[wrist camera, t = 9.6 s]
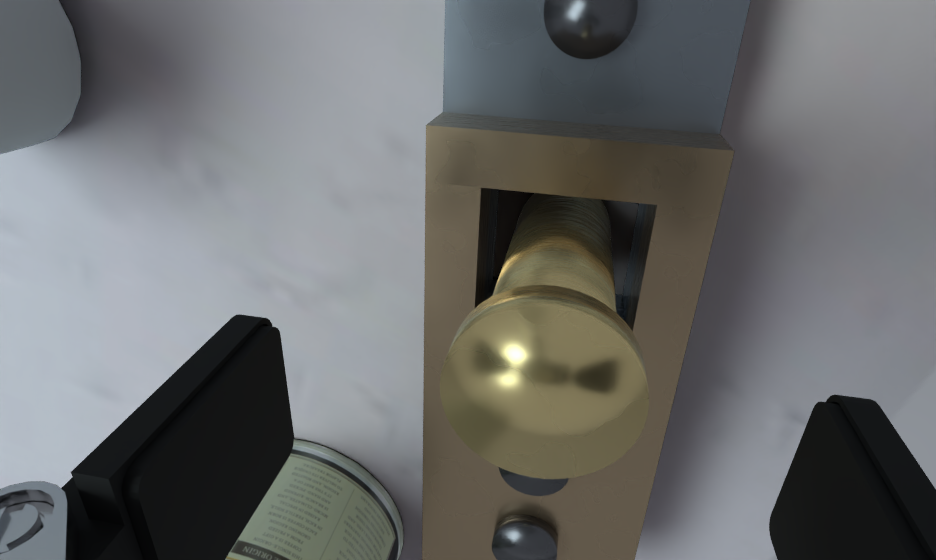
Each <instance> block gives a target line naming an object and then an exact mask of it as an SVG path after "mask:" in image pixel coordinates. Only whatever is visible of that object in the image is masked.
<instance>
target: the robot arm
mask: <svg viewBox="0 0 936 560" xmlns="http://www.w3.org/2000/svg"><path fill="white" fill-rule="evenodd" d="M293 443H294V433H293V426H292V419H291V411H290V404H289V396H288V389H287V381H286V374H285V366H284V359H283V351H282V344H281V337H280V332H279V330H278V328H276V327H272V323H271V322H270V320H269V319H267V318H261V317H254V316H246V315H235V316H234V317H232V318H231V319H230V320H229V321H228V322H227V323H226V324H225V325H224V326H223V327H222V328H221V329H220V330H219V331H218V332H217V333H216V334H215V335H214V336H213V337H212V338H210V339H209V340H208V341H207V342H206V343H205V344H204V345H203V346H202V347H201V348H200V349H199V350H198V351H197V352H196V353H195V354H194V355H193V356H192V357H191V358H190V359H189V360H188V361H186V362H185V363H184V364H183V365H182V366H181V367H180V368H179V369H178V370H177V371H176V372H175V373H174V374H173V375H172V376H171V377H170V378H169V379H168V380H167V381H166V382H165V383H164V384H162V385H161V386H160V387H159V388H158V389H157V390H156V391H155V392H154V393H153V394H152V395H151V396H150V397H149V398H148V399H147V400H146V401H145V402H144V403H143V404H142V405H141V406H140V407H138V408H137V409H136V410H135V411H134V412H133V413H132V414H131V415H130V416H129V417H128V418H127V419H126V420H125V421H124V422H123V423H122V424H121V425H120V426H119V427H118V428H117V429H116V430H114V431H113V432H112V433H111V434H110V435H109V436H108V437H107V438H106V439H105V440H104V441H103V442H102V443H101V444H100V445H99V446H98V447H97V448H96V449H95V450H94V451H93V452H92V453H90V454H89V455H88V456H87V457H86V458H85V459H84V460H83V461H82V462H81V463H80V464H79V465H78V466H77V467H76V468H75V469H74V470H73V471H72V472H71V474H72V476H73V477H72V478H71V479H70V480H69V481H68V482H67V483H66V484H65V485H64V486H63V487H62V488H60V487H59V486H57V485H55V484H52V483H48V482H45V481H31V482H24V483H19V484H14V485H10V486H7V487H4V488H2V489H0V560H225V559H226V557H227V556H228V554H229V552H230V551H231V549H232V548H233V546H234V544H235V543H236V541H237V540H238V538H239V536H240V535H241V533H242V532H243V530H244V528H245V527H246V525H247V524H248V522H249V520H250V519H251V517H252V516H253V514H254V512H255V511H256V509H257V508H258V506H259V504H260V503H261V501H262V500H263V498H264V496H265V495H266V493H267V492H268V490H269V488H270V487H271V485H272V484H273V482H274V480H275V479H276V477H277V475H278V474H279V472H280V471H281V469H282V467H283V466H284V464H285V463H286V461H287V459H288V458H289V456H290V454H291V451H292V448H293ZM769 529H770V537H771V540H772V544H773V547H774V550H775V553H776V556H777V559H778V560H936V489H935V488H934V486H933V485H932V483H931V482H930V480H929V479H928V477H927V476H926V475H925V473H924V472H923V470H922V469H921V467H920V465H919V464H918V463H917V461H916V460H915V458H914V457H913V455H912V454H911V452H910V451H909V449H908V448H907V446H906V445H905V443H904V442H903V440H902V439H901V438H900V436H899V434H898V433H897V431H896V430H895V429H894V427H893V425H892V424H891V422H890V421H889V419H888V418H887V416H886V415H885V413H884V412H883V411H882V409H881V408H880V406H879V405H878V404H877V403H876V402H875V401H873V400H871V399H863V398H856V397H848V396H841V395H832V396H830V397H829V398H828V399H827V401H826V402H818V403H817V404H816V405H815V406H814V408H813V411H812V413H811V416H810V418H809V421H808V423H807V426H806V428H805V431H804V433H803V436H802V438H801V441H800V443H799V446H798V448H797V451H796V453H795V456H794V458H793V461H792V463H791V466H790V468H789V471H788V473H787V476H786V478H785V481H784V483H783V486H782V488H781V491H780V493H779V496H778V498H777V501H776V504H775V506H774V509H773V511H772V514H771V517H770V523H769Z"/></svg>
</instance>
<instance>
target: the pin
mask: <svg viewBox="0 0 936 560" xmlns="http://www.w3.org/2000/svg"><path fill="white" fill-rule="evenodd" d="M440 396H441V401H442V406H443V409H444V411H445V414H446V417H447V419H448V421H449V422H450V424H451V426H452V428H453V429H454V431H455V432H456V433H457V435H458V436H459V437H460V438H461V439H462V441H463V442H464V443H465V444H466V445H467V446H468V447H469V448H471V449H472V450H473V451H474V452H475V453H476V454H478V455H479V456H481V457H482V458H483V459H485V460H487V461H488V462H490V463H492V464H494V465H496V466H498V467H500V468H502V469H505V470H507V471H510V472H513V473H516V474H519V475H523V476H528V477H533V478H541V479H565V478H573V477H579V476H583V475H587V474H590V473H593V472H596V471H598V470H600V469H603V468H605V467H607V466H608V465H610V464H612V463H614V462H615V461H617V460H618V459H619V458H620V457H622V456H623V455H624V454H625V453H626V452H627V451H628V450H629V449H630V448H631V447H632V446H633V445H634V443H635V442H636V440H637V439H638V438H639V436H640V434H641V432H642V430H643V428H644V426H645V422H646V419H647V416H648V409H649V392H648V385H647V377H646V370H645V363H644V358H643V353H642V350H641V348H640V345H639V342H638V340H637V339H636V337H635V335H634V333H633V331H632V330H631V329H630V327H629V326H628V325H627V323H626V322H625V321H624V320H623V319H622V318H621V317H620V316H619V315H618V314H617V313H616V301H615V287H614V272H613V258H612V244H611V230H610V219H609V214H608V212H607V209H606V207H605V205H604V204H603V202H602V201H601V200H600V199H592V198H582V197H572V196H562V195H552V194H541V193H534V194H533V195H532V196H531V197H530V198H529V199H528V200H527V201H526V203H525V205H524V206H523V208H522V210H521V213H520V216H519V219H518V222H517V225H516V228H515V231H514V234H513V237H512V240H511V243H510V245H509V248H508V251H507V254H506V257H505V260H504V263H503V266H502V269H501V272H500V275H499V278H498V281H497V284H496V287H495V290H494V293H493V296H492V297H490V298H488V299H487V300H485V301H484V302H482V303H480V304H479V305H478V306H477V307H476V308H474V309H473V310H472V311H471V312H470V313H469V314H468V316H467V317H466V318H465V319H464V320H463V322H462V324H461V325H460V327H459V328H458V330H457V333H456V335H455V337H454V339H453V342H452V344H451V347H450V349H449V352H448V354H447V356H446V359H445V361H444V364H443V368H442V372H441V378H440Z"/></svg>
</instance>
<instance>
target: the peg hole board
mask: <svg viewBox="0 0 936 560" xmlns="http://www.w3.org/2000/svg"><path fill="white" fill-rule="evenodd" d="M750 1H751V0H445V38H444V85H443V112H442V113H441V114H440V115H439V116H437V117H436V118H435V119H433V120H432V121H431V122H430V123H428V124H427V125H426V195H425V302H424V410H423V518H422V560H634V559H635V555H636V551H637V547H638V543H639V539H640V535H641V531H642V527H643V523H644V518H645V514H646V510H647V506H648V502H649V498H650V494H651V490H652V486H653V482H654V478H655V474H656V470H657V465H658V461H659V457H660V453H661V449H662V445H663V441H664V437H665V433H666V429H667V425H668V421H669V417H670V412H671V408H672V404H673V400H674V396H675V392H676V388H677V384H678V380H679V376H680V372H681V368H682V363H683V359H684V355H685V351H686V347H687V343H688V339H689V335H690V331H691V327H692V323H693V319H694V315H695V310H696V306H697V302H698V298H699V294H700V290H701V286H702V282H703V278H704V274H705V270H706V266H707V262H708V257H709V253H710V249H711V245H712V241H713V237H714V233H715V229H716V225H717V221H718V217H719V213H720V209H721V204H722V200H723V196H724V192H725V188H726V184H727V180H728V176H729V172H730V168H731V164H732V160H733V155H734V150H733V148H732V147H731V146H730V145H729V144H728V143H727V142H726V141H725V139H724V138H723V137H722V136H721V135H720V131H721V126H722V122H723V118H724V113H725V109H726V105H727V100H728V96H729V92H730V87H731V83H732V79H733V74H734V70H735V66H736V61H737V57H738V53H739V48H740V44H741V40H742V35H743V31H744V27H745V22H746V18H747V14H748V9H749V5H750ZM499 189H501V190H511V191H521V192H531V193H541V194H552V195H562V196H572V197H582V198H592V199H602V200H612V201H623V202H633V203H639V207H638V213H637V218H636V224H635V229H634V235H633V241H632V246H631V252H630V257H629V263H628V268H627V274H626V280H625V285H624V291H623V295H615V301H616V313H617V314H618V315H619V316H620V317H621V318H622V319H623V320H624V321H625V322H626V323H627V325H628V326H629V327H630V329H631V330H632V331H633V333H634V335H635V337H636V339H637V340H638V342H639V345H640V348H641V350H642V353H643V358H644V363H645V370H646V377H647V385H648V392H649V409H648V416H647V419H646V422H645V426H644V428H643V430H642V432H641V434H640V436H639V438H638V439H637V440H636V442H635V443H634V445H633V446H632V447H631V448H630V449H629V450H628V451H627V452H626V453H625V454H624V455H623V456H622V457H620V458H619V459H618V460H617V461H615V462H614V463H612V464H610V465H608V466H607V467H605V468H603V469H600V470H598V471H596V472H593V473H590V474H587V475H583V476H579V477H573V478H565V479H541V478H533V477H528V476H523V475H519V474H516V473H513V472H510V471H507V470H505V469H502V468H500V467H498V466H496V465H494V464H492V463H490V462H488V461H487V460H485V459H483V458H482V457H481V456H479V455H478V454H476V453H475V452H474V451H473V450H472V449H471V448H469V447H468V446H467V445H466V444H465V443H464V442H463V441H462V439H461V438H460V437H459V436H458V435H457V433H456V432H455V431H454V429H453V428H452V426H451V424H450V422H449V421H448V419H447V417H446V414H445V411H444V409H443V406H442V401H441V396H440V378H441V372H442V368H443V364H444V361H445V359H446V356H447V354H448V352H449V349H450V347H451V344H452V342H453V339H454V337H455V335H456V333H457V330H458V328H459V327H460V325H461V324H462V322H463V320H464V319H465V318H466V317H467V316H468V314H469V313H470V312H471V311H472V310H473V309H474V308H476V307H477V306H478V305H479V304H480V303H482V302H484V301H485V300H487V299H488V298H490V297H492V296H493V293H494V290H495V287H496V284H497V281H498V280H493V266H494V251H495V236H496V221H497V207H498V192H499Z"/></svg>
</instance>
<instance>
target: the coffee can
mask: <svg viewBox="0 0 936 560" xmlns="http://www.w3.org/2000/svg"><path fill="white" fill-rule="evenodd" d="M402 547H403V525H402V521H401V517H400V514H399V512H398V510H397V508H396V506H395V504H394V502H393V500H392V499H391V497H390V495H389V494H388V492H387V491H386V490H385V489H384V488H383V486H382V485H381V484H380V483H379V482H378V481H377V480H376V479H375V478H374V477H373V476H372V475H371V474H370V473H369V472H367V471H366V470H365V469H364V468H362V467H361V466H360V465H359V464H357V463H356V462H354V461H353V460H351V459H349V458H347V457H345V456H343V455H341V454H339V453H338V452H336V451H334V450H331V449H329V448H327V447H324V446H321V445H318V444H314V443H311V442H306V441H301V440H295V439H294V443H293V448H292V451H291V454H290V456H289V458H288V459H287V461H286V463H285V464H284V466H283V467H282V469H281V471H280V472H279V474H278V475H277V477H276V479H275V480H274V482H273V484H272V485H271V487H270V488H269V490H268V492H267V493H266V495H265V496H264V498H263V500H262V501H261V503H260V504H259V506H258V508H257V509H256V511H255V512H254V514H253V516H252V517H251V519H250V520H249V522H248V524H247V525H246V527H245V528H244V530H243V532H242V533H241V535H240V536H239V538H238V540H237V541H236V543H235V544H234V546H233V548H232V549H231V551H230V552H229V554H228V556H227V557H226V559H225V560H398V559H399V556H400V554H401V550H402Z"/></svg>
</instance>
